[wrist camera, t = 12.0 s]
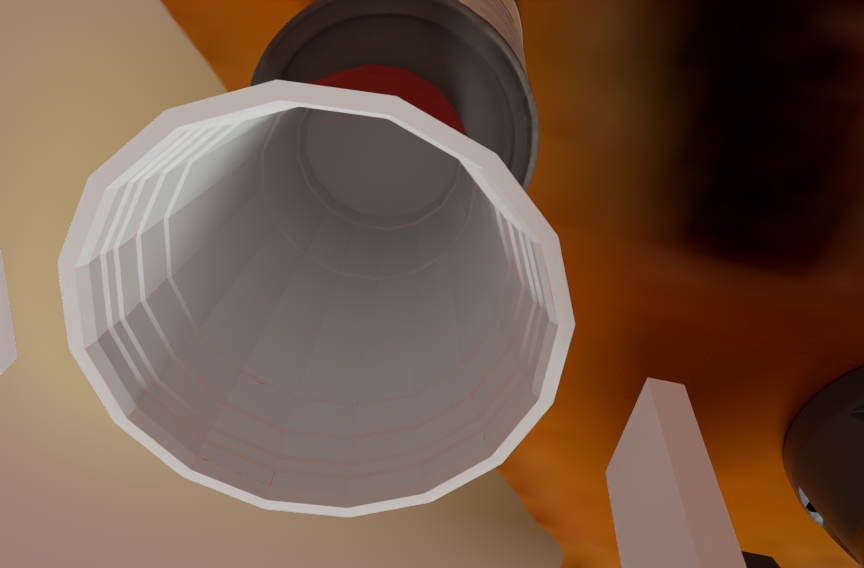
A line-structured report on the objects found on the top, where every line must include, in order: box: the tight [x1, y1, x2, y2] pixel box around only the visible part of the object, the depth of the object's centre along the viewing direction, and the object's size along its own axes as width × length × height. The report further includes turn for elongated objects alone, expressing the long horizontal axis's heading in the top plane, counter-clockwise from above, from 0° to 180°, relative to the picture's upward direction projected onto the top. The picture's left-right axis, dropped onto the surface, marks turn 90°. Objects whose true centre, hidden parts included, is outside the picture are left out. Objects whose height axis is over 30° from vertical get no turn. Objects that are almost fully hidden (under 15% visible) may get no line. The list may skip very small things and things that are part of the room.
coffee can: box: [250, 0, 539, 192], centre depth 31 cm, size 10×10×14 cm
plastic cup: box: [57, 64, 575, 517], centre depth 20 cm, size 11×11×12 cm
